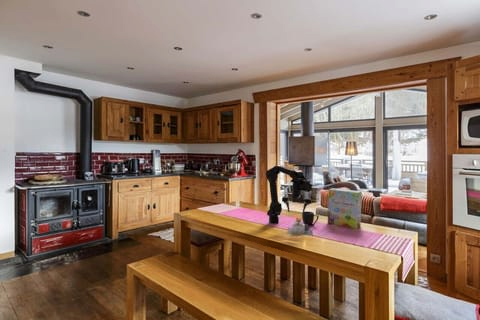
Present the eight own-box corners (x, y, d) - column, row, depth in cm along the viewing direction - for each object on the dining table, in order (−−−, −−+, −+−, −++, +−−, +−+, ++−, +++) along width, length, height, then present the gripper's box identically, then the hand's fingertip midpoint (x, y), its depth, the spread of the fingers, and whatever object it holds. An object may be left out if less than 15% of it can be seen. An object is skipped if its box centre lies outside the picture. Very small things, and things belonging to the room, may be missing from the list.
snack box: (326, 223, 199) (327, 189, 199) (331, 221, 206) (332, 188, 205) (357, 229, 186) (358, 192, 185) (361, 226, 192) (362, 190, 192)
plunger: (294, 231, 174) (294, 218, 173) (294, 229, 179) (294, 216, 178) (302, 231, 173) (302, 219, 172) (302, 229, 178) (302, 217, 177)
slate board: (286, 234, 171) (287, 233, 171) (287, 229, 184) (287, 227, 184) (313, 236, 167) (313, 235, 167) (312, 230, 180) (312, 229, 180)
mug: (314, 229, 184) (314, 215, 184) (299, 225, 193) (299, 212, 193) (320, 227, 190) (321, 213, 190) (305, 223, 199) (306, 210, 198)
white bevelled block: (292, 232, 173) (292, 224, 173) (292, 229, 180) (292, 221, 180) (308, 233, 171) (308, 225, 170) (307, 230, 178) (307, 222, 178)
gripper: (281, 190, 173) (280, 214, 173) (311, 192, 168) (310, 216, 169) (282, 188, 183) (282, 210, 184) (311, 189, 179) (310, 212, 180)
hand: (295, 212), depth 179 cm, fingers open, 9 cm apart
